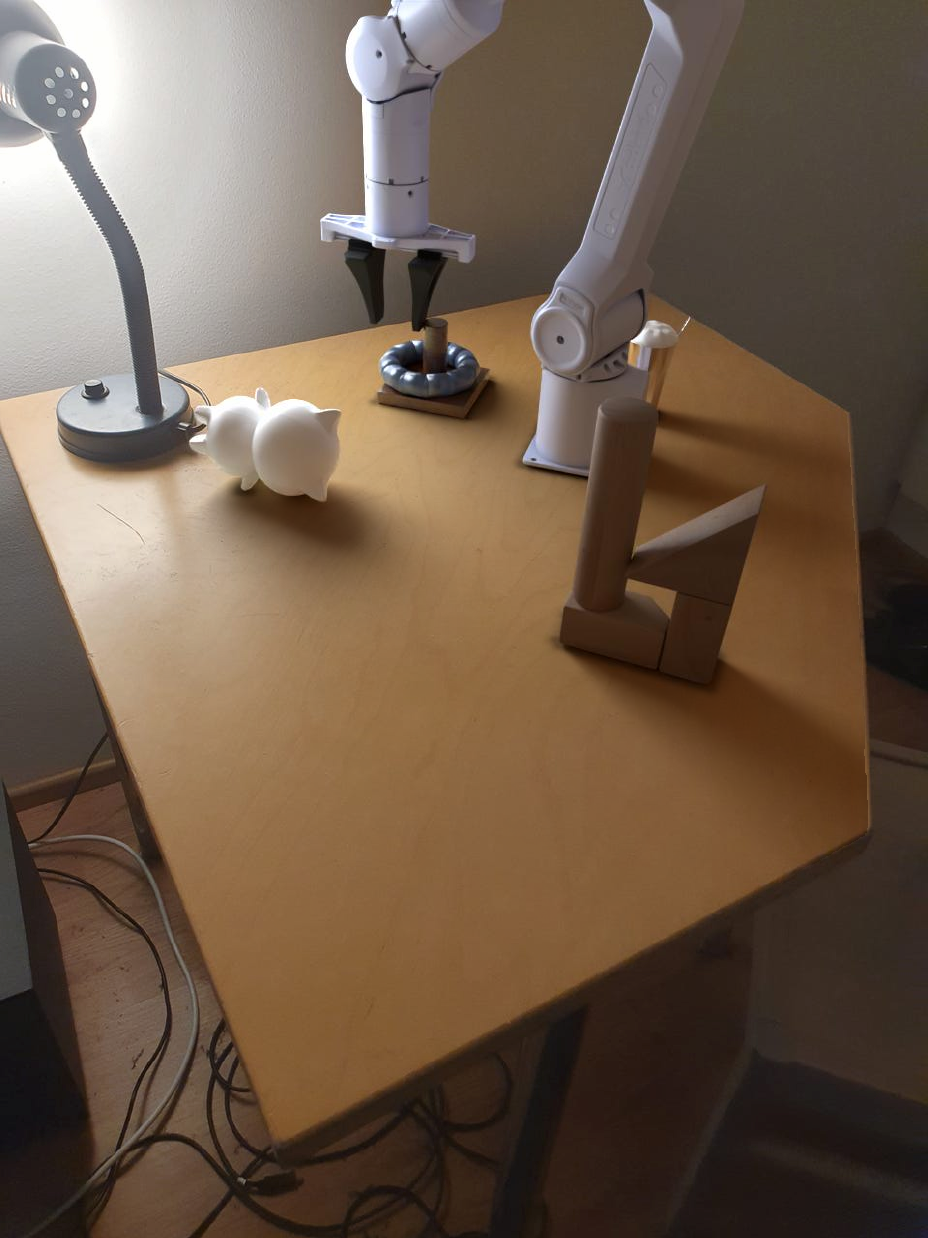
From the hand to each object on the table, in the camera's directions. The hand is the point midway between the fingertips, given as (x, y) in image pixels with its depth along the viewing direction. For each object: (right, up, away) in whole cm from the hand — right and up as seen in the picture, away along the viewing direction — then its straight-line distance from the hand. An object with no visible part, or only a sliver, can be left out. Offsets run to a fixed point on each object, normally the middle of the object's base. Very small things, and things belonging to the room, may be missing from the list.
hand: (398, 324), depth 90 cm
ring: (+3, -4, +2) cm, 5 cm away
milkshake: (+24, -9, +1) cm, 26 cm away
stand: (+3, -6, +3) cm, 7 cm away
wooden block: (+19, -31, -25) cm, 44 cm away
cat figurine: (-9, -17, -10) cm, 22 cm away
